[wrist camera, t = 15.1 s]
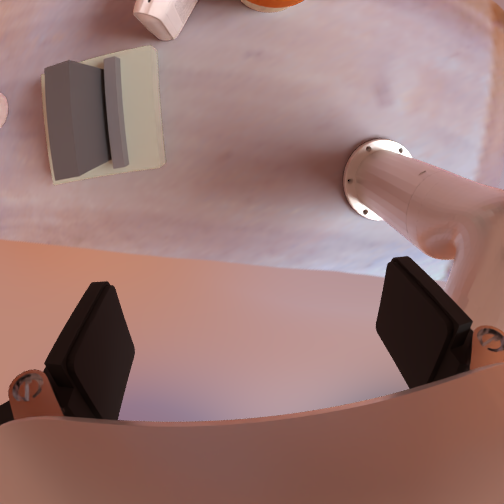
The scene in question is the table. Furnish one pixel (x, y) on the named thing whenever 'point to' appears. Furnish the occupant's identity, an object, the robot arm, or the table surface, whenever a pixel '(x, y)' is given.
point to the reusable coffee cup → (270, 4)
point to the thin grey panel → (76, 118)
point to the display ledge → (126, 113)
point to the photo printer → (164, 16)
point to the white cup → (3, 109)
